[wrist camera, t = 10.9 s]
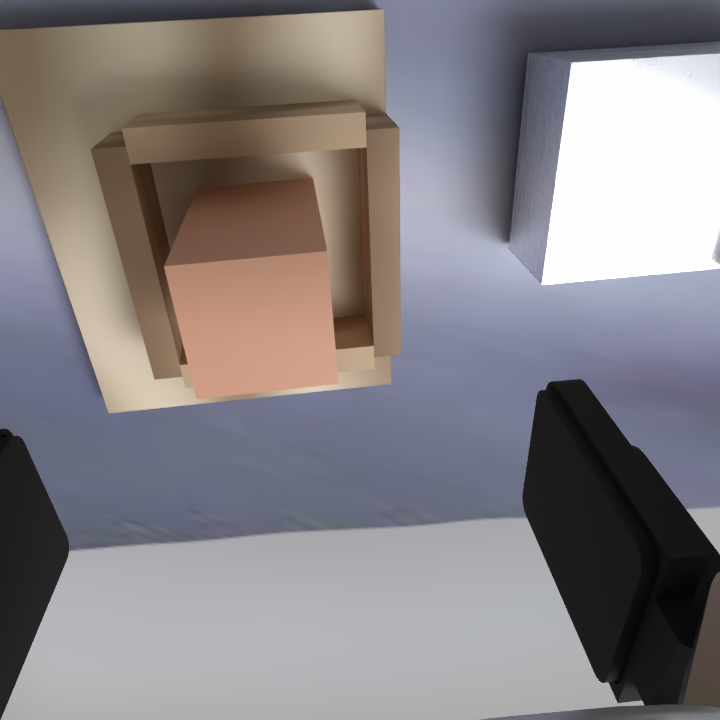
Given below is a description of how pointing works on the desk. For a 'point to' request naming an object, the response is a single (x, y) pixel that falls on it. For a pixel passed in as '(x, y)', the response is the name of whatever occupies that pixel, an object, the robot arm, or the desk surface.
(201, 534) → the desk surface
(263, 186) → the block
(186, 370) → the socket board
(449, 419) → the desk surface
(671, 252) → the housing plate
